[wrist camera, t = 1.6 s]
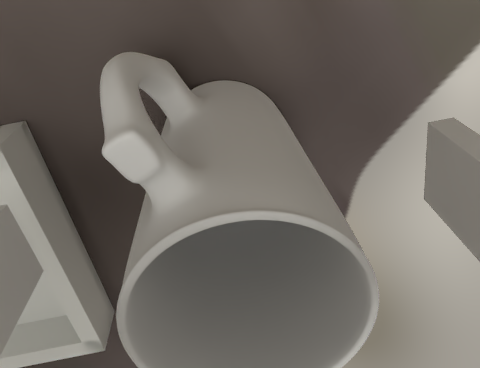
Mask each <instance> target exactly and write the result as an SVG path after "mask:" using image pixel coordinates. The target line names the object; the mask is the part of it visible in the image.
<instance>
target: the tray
mask: <svg viewBox="0 0 480 368" xmlns="http://www.w3.org/2000/svg"><path fill="white" fill-rule="evenodd" d="M6 204H7V205H8V207H9V209H10V210H11V212H12V214H13V216H14V218H15V219H16V221H17V223H18V225H19V227H20V229H21V230H22V232H23V234H24V236H25V238H26V239H27V241H28V243H29V245H30V247H31V248H32V250H33V252H34V254H35V256H36V257H37V259H38V261H39V263H40V265H41V266H42V268H43V270H44V271H43V273H42V275H41V277H40V279H39V281H38V283H37V285H36V287H35V289H34V291H33V293H32V295H31V297H30V299H29V301H28V303H27V305H26V307H25V309H24V311H23V313H22V314H21V316H20V318H19V320H18V322H17V324H16V326H15V328H14V330H13V332H12V334H11V336H10V338H9V340H8V342H7V344H6V346H5V348H4V350H3V352H2V354H1V356H0V368H20V367H25V366H30V365H35V364H40V363H45V362H50V361H55V360H61V359H66V358H71V357H76V356H81V355H86V354H91V353H96V352H101V351H105V350H106V346H107V342H108V337H109V333H110V329H111V324H112V320H113V316H114V312H115V310H114V308H113V306H112V304H111V302H110V300H109V298H108V296H107V293H106V291H105V289H104V287H103V285H102V283H101V281H100V279H99V276H98V274H97V272H96V270H95V268H94V266H93V264H92V261H91V259H90V257H89V255H88V253H87V251H86V249H85V247H84V244H83V242H82V240H81V238H80V236H79V234H78V232H77V230H76V227H75V225H74V223H73V221H72V219H71V217H70V215H69V212H68V210H67V208H66V206H65V204H64V202H63V200H62V198H61V195H60V193H59V191H58V189H57V187H56V185H55V183H54V180H53V178H52V176H51V174H50V172H49V170H48V168H47V166H46V163H45V161H44V159H43V157H42V155H41V153H40V151H39V149H38V146H37V144H36V142H35V140H34V138H33V136H32V134H31V131H30V129H29V127H28V125H27V123H26V121H21V122H16V123H11V124H6V125H1V126H0V206H1V205H6Z"/></svg>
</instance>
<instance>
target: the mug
mask: <svg viewBox="0 0 480 368" xmlns="http://www.w3.org/2000/svg"><path fill="white" fill-rule="evenodd" d="M139 88H140V89H142V90H143V91H145V92H146V93H147V94H148V95H149V96H150V97H151V98H152V99H153V100H154V101H155V102H156V103H157V104H158V106H159V107H160V108H161V109H162V111H163V112H164V113H165V115H166V116H167V119H166V121H165V124H164V127H163V130H162V133H161V136H160V134H159V133H158V131H157V129H156V128H155V126H154V125H153V123H152V121H151V120H150V118H149V116H148V114H147V112H146V110H145V107H144V105H143V102H142V99H141V96H140V92H139ZM100 102H101V111H102V118H103V125H104V132H105V141H104V145H103V147H102V155H103V156H104V158H105V159H106V160H107V161H108V162H110V163H111V164H112V165H113V166H114V167H115V168H116V169H117V170H118V171H119V172H120V173H121V174H122V175H123V176H124V177H125V178H126V179H128V180H129V181H131V182H133V183H139V184H140V185H141V186H142V187H143V188H144V189H145V191H146V194H145V197H144V201H143V205H142V209H141V212H140V216H139V220H138V223H137V227H136V231H135V235H134V238H133V242H132V246H131V250H130V254H129V258H128V262H127V266H126V270H125V274H124V279H123V284H122V288H121V291H120V294H119V298H118V302H117V311H116V322H117V329H118V333H119V337H120V340H121V342H122V345H123V347H124V349H125V351H126V352H127V354H128V355H129V357H130V358H131V360H132V361H133V362H134V363H135V364H136V366H137V367H138V368H342V367H343V366H344V365H345V364H346V363H347V362H348V361H349V360H350V359H351V358H352V357H353V356H354V355H355V354H356V353H357V352H358V351H359V349H360V348H361V347H362V346H363V344H364V342H365V341H366V339H367V338H368V336H369V334H370V332H371V330H372V328H373V326H374V323H375V320H376V317H377V313H378V308H379V288H378V283H377V279H376V276H375V272H374V270H373V268H372V266H371V264H370V262H369V260H368V259H367V257H366V256H365V254H364V252H363V250H362V248H361V246H360V244H359V242H358V241H357V238H356V237H355V235H354V233H353V231H352V230H351V228H350V226H349V225H348V223H347V221H346V219H345V218H344V216H343V214H342V213H341V211H340V209H339V208H338V206H337V204H336V203H335V201H334V199H333V198H332V196H331V194H330V193H329V191H328V190H327V188H326V186H325V185H324V183H323V181H322V180H321V178H320V176H319V175H318V173H317V172H316V170H315V168H314V167H313V165H312V163H311V162H310V160H309V158H308V157H307V155H306V153H305V152H304V150H303V148H302V147H301V145H300V143H299V142H298V140H297V138H296V137H295V135H294V133H293V132H292V130H291V128H290V126H289V125H288V123H287V122H286V120H285V118H284V117H283V116H282V114H281V113H280V111H279V110H278V108H277V107H276V105H275V104H274V103H273V102H272V100H271V99H270V98H269V97H268V96H267V95H265V94H264V93H263V92H261V91H260V90H258V89H257V88H255V87H253V86H251V85H248V84H245V83H242V82H237V81H229V80H221V81H213V82H209V83H205V84H202V85H200V86H198V87H196V88H194V89H192V90H190V89H189V88H188V87H187V85H186V84H185V83H184V81H183V80H182V79H181V77H180V76H179V74H178V73H177V72H176V70H175V69H174V68H173V66H172V65H171V64H170V63H169V62H168V61H166V60H164V59H160V58H156V57H153V56H149V55H146V54H142V53H137V52H124V53H121V54H118V55H116V56H115V57H113V58H112V59H111V60H109V61H108V62H107V64H106V65H105V66H104V68H103V71H102V74H101V80H100Z"/></svg>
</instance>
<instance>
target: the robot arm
mask: <svg viewBox="0 0 480 368" xmlns="http://www.w3.org/2000/svg"><path fill="white" fill-rule="evenodd" d="M424 199H425V201H426V202H427V203H428V204H429V205H430V206H431V207H432V208H433V210H434V211H435V212H436V213H437V214H438V215H439V216H440V217H441V219H443V221H444V222H445V223H446V224H447V225H448V226H449V227H450V229H451V230H452V231H453V232H454V233H455V234H456V235H457V237H458V238H459V239H460V240H461V241H462V242H463V243H464V244H465V246H466V247H467V248H468V249H469V250H470V251H471V252H472V253H473V255H474V256H475V257H476V258H477V259H478V260H479V261H480V135H479V134H477V133H476V132H474V131H473V130H471V129H470V128H468V127H467V126H465V125H464V124H462V123H461V122H459V121H458V120H456V119H454V118H450V119H444V120H439V121H434V122H429V123H428V134H427V152H426V170H425V189H424ZM43 271H44V270H43V268H42V266H41V265H40V263H39V261H38V259H37V257H36V256H35V254H34V252H33V250H32V248H31V247H30V245H29V243H28V241H27V239H26V238H25V236H24V234H23V232H22V230H21V229H20V227H19V225H18V223H17V221H16V219H15V218H14V216H13V214H12V212H11V210H10V209H9V207H8V205H7V204H6V205H1V206H0V356H1V354H2V352H3V350H4V348H5V346H6V344H7V342H8V340H9V338H10V336H11V334H12V332H13V330H14V328H15V326H16V324H17V322H18V320H19V318H20V316H21V314H22V313H23V311H24V309H25V307H26V305H27V303H28V301H29V299H30V297H31V295H32V293H33V291H34V289H35V287H36V285H37V283H38V281H39V279H40V277H41V275H42V273H43Z"/></svg>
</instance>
